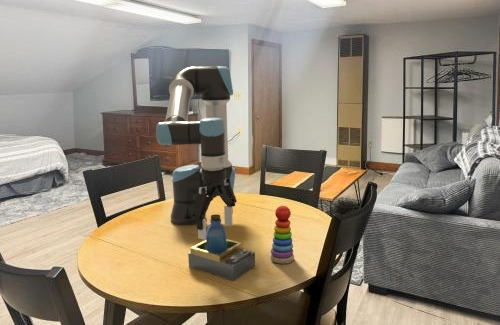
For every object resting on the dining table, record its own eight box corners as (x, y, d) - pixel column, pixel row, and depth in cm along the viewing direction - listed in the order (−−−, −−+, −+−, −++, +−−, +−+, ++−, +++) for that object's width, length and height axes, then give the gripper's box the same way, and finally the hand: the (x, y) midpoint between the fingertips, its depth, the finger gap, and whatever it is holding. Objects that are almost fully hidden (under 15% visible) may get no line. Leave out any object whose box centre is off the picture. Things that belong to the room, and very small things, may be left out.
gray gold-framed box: (188, 267, 137) (187, 247, 136) (212, 254, 147) (211, 235, 145) (233, 281, 127) (232, 259, 126) (255, 266, 137) (254, 246, 136)
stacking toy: (293, 265, 137) (293, 210, 133) (269, 264, 138) (268, 209, 135) (295, 255, 145) (295, 203, 141) (271, 254, 146) (271, 202, 142)
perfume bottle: (207, 247, 140) (206, 213, 138) (226, 246, 140) (224, 212, 138) (207, 255, 134) (205, 219, 131) (226, 254, 134) (225, 218, 132)
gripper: (196, 178, 119) (199, 247, 124) (246, 161, 139) (247, 221, 144) (176, 174, 123) (180, 242, 128) (227, 159, 144) (229, 217, 148)
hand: (216, 231), depth 136 cm, fingers open, 13 cm apart
